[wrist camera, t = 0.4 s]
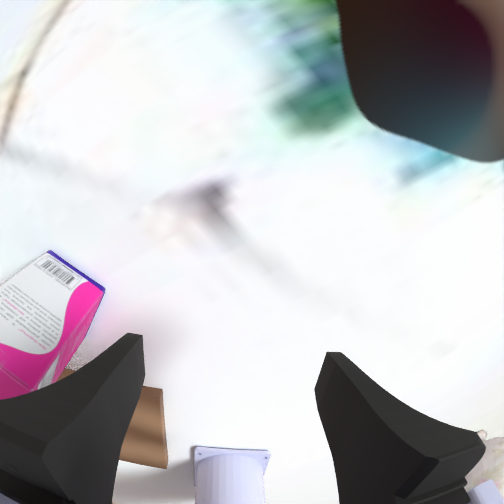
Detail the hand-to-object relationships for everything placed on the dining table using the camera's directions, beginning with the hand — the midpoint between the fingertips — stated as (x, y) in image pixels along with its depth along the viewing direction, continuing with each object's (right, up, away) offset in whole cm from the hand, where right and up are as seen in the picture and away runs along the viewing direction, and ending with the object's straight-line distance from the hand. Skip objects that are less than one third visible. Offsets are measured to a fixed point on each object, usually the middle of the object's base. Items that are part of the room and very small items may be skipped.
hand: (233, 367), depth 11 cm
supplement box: (-14, +1, +10) cm, 17 cm away
